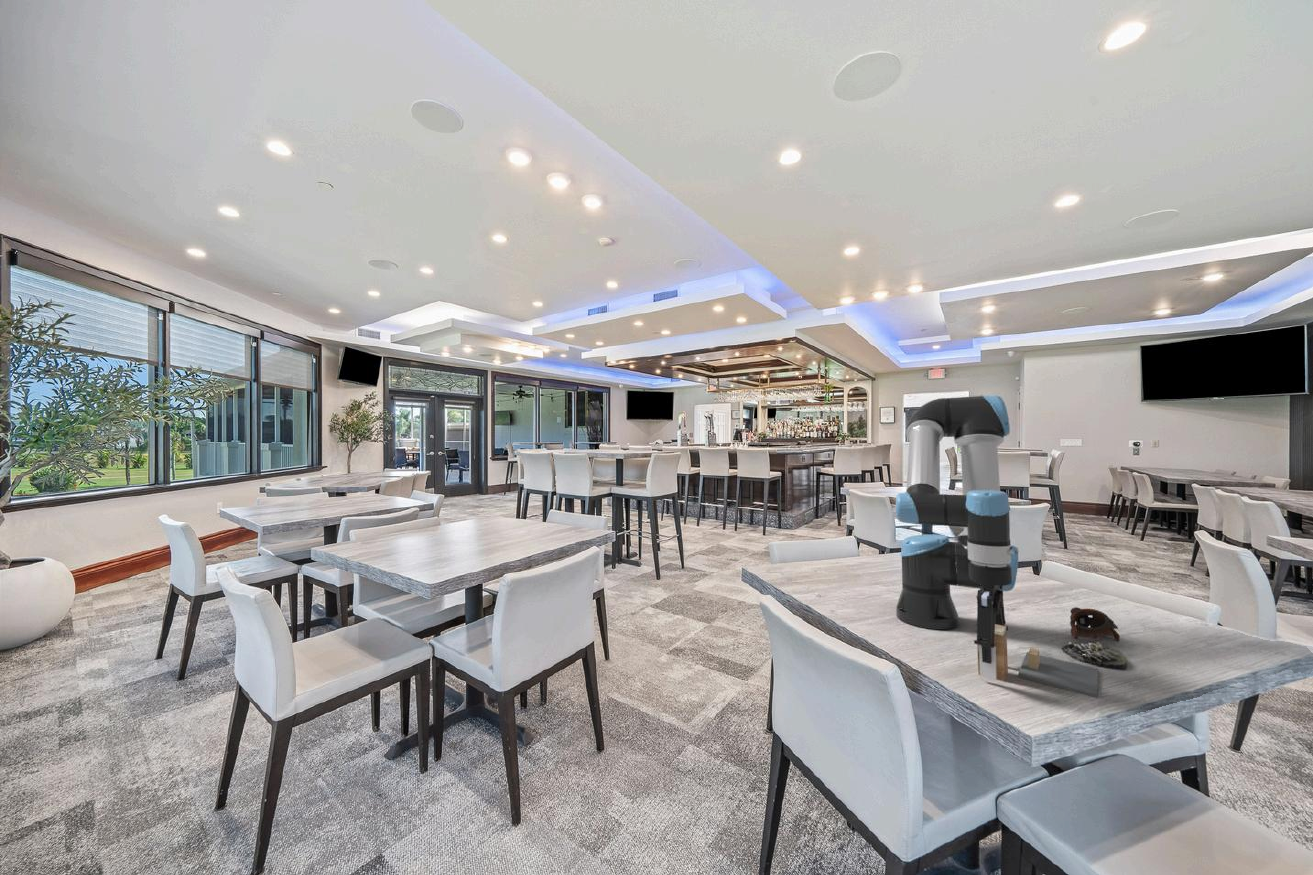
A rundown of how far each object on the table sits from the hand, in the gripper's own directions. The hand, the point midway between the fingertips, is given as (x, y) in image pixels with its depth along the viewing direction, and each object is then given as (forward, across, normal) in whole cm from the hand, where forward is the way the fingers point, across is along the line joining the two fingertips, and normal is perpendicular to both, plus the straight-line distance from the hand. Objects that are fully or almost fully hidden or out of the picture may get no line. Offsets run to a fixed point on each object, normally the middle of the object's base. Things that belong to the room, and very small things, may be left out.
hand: (992, 668), depth 99 cm
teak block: (+1, 0, 0) cm, 1 cm away
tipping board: (+1, +9, -10) cm, 14 cm away
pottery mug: (+1, +38, -14) cm, 41 cm away
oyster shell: (+2, +25, -15) cm, 29 cm away
